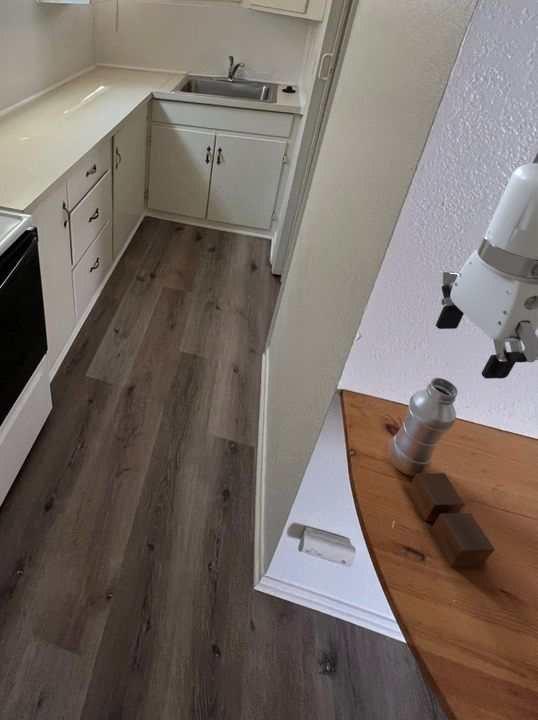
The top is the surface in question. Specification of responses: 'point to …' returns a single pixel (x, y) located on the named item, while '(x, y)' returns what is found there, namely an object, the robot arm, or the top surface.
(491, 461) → the top surface
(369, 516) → the top surface
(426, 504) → the walnut block
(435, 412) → the silver bottle
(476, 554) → the walnut block
